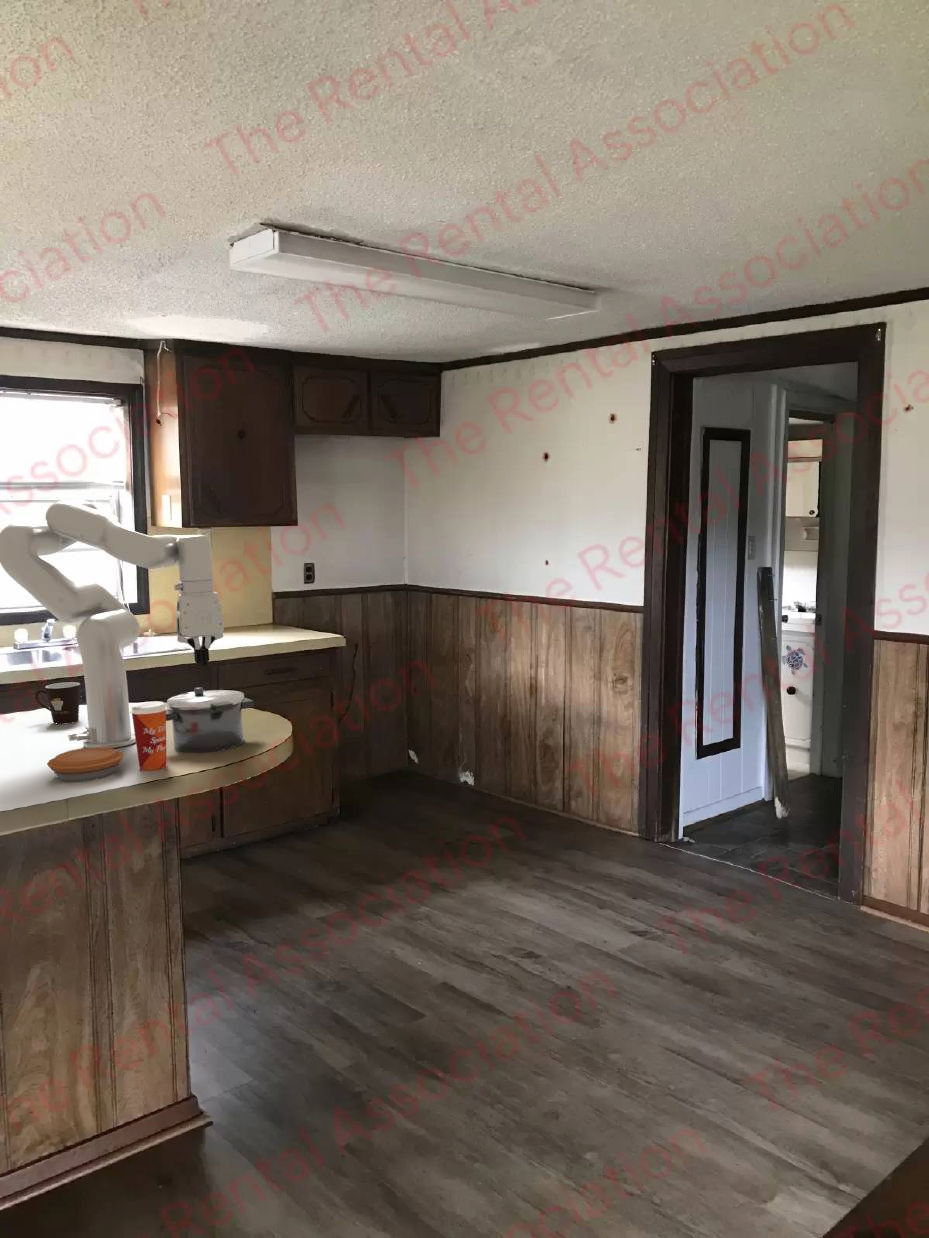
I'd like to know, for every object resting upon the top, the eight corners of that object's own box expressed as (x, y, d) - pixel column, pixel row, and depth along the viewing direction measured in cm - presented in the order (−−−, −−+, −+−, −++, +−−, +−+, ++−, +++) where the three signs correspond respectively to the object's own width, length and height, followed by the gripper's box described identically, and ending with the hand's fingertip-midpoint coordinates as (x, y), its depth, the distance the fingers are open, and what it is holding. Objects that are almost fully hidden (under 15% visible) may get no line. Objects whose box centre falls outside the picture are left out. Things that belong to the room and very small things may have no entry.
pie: (134, 775, 215) (133, 752, 215) (59, 789, 206) (56, 765, 206) (113, 761, 228) (111, 740, 227) (40, 774, 219) (38, 752, 218)
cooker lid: (187, 716, 224) (185, 703, 224) (156, 703, 242) (156, 690, 242) (261, 704, 234) (260, 692, 234) (227, 692, 252) (226, 680, 251)
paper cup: (151, 773, 216) (146, 709, 214) (127, 769, 220) (122, 706, 218) (179, 764, 222) (174, 702, 221) (155, 760, 226) (150, 699, 225)
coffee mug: (89, 719, 274) (86, 683, 273) (62, 726, 267) (58, 689, 266) (62, 716, 281) (59, 680, 280) (35, 722, 273) (31, 686, 272)
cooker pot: (175, 758, 228) (171, 713, 227) (149, 743, 243) (146, 701, 242) (265, 742, 240) (262, 699, 239) (235, 729, 255) (232, 688, 254)
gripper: (170, 591, 229) (176, 671, 231) (233, 586, 237) (238, 663, 240) (160, 589, 235) (165, 667, 238) (221, 584, 244) (226, 659, 246)
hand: (202, 665), depth 239 cm, fingers closed
